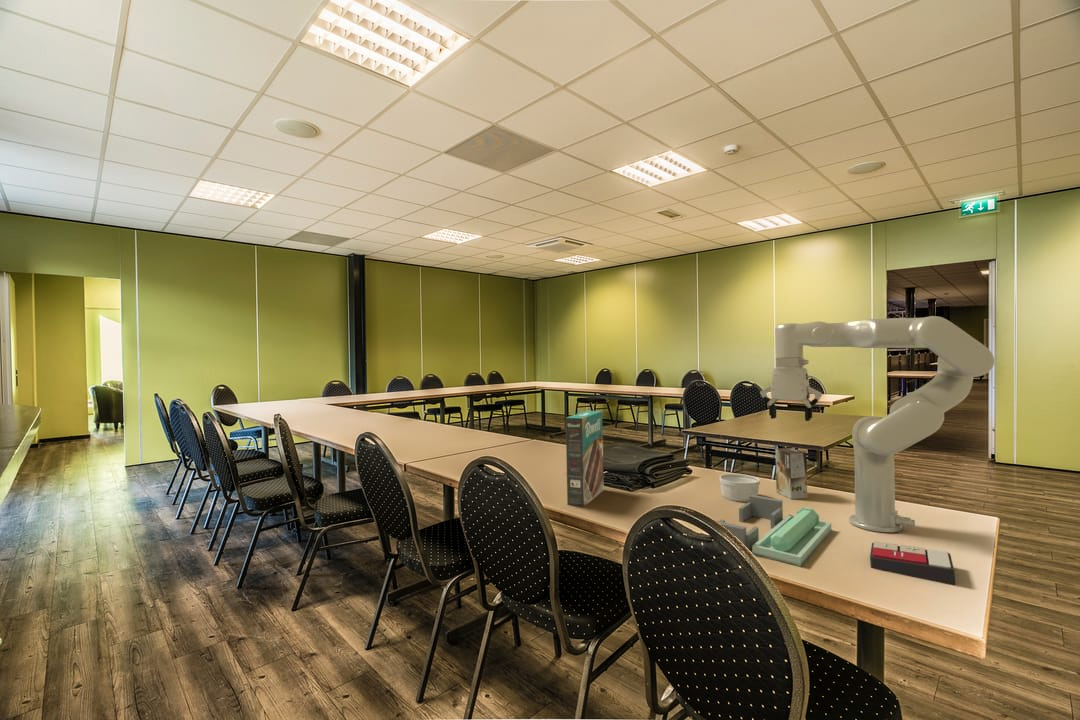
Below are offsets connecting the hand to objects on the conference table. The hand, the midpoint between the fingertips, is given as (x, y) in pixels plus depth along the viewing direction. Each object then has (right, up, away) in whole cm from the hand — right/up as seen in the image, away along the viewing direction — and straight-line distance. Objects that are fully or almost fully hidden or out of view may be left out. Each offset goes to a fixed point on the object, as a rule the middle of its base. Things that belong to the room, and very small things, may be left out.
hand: (790, 419), depth 146 cm
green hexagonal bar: (-9, -30, -18) cm, 36 cm away
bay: (-17, -31, -10) cm, 37 cm away
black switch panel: (+10, -31, -35) cm, 48 cm away
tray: (-9, -31, -19) cm, 37 cm away
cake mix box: (-60, -32, +26) cm, 73 cm away
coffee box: (+13, -30, +23) cm, 40 cm away
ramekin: (-6, -31, +22) cm, 38 cm away
